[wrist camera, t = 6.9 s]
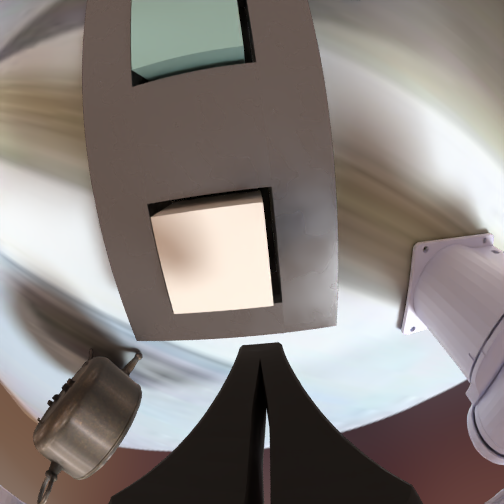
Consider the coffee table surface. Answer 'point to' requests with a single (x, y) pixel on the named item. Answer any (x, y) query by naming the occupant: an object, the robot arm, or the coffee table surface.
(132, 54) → the teal key
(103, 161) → the key housing
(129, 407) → the alarm clock
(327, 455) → the robot arm
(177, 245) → the white key
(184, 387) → the coffee table surface
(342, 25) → the coffee table surface
